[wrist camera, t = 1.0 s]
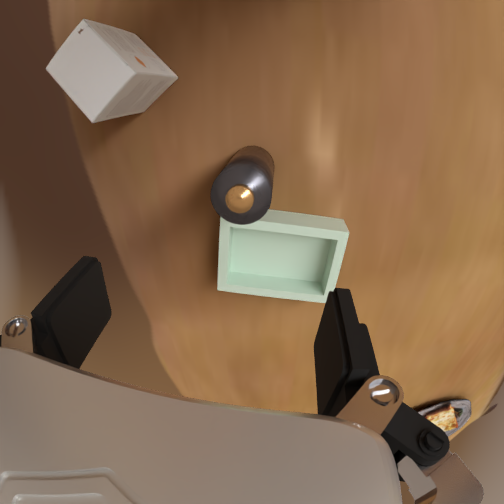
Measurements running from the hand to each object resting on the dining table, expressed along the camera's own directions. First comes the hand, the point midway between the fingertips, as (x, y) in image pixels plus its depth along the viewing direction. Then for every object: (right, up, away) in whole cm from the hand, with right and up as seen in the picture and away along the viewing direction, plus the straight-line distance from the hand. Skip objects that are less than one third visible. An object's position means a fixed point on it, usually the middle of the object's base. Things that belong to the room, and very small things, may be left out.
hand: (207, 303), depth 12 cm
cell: (+2, +11, +19) cm, 22 cm away
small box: (-10, +21, +15) cm, 28 cm away
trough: (+5, +2, +24) cm, 24 cm away
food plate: (+42, -38, +42) cm, 71 cm away
